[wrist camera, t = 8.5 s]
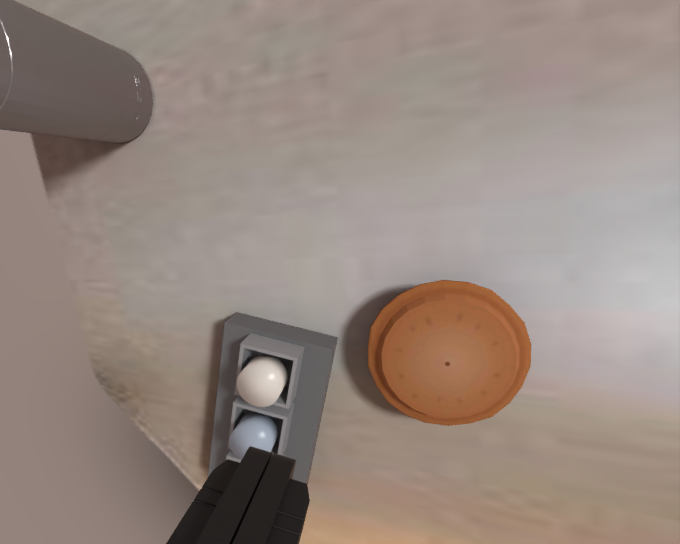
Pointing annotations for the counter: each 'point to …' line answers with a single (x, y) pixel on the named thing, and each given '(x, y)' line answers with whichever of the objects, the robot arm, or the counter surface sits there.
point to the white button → (262, 381)
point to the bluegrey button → (253, 434)
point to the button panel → (296, 397)
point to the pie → (448, 352)
